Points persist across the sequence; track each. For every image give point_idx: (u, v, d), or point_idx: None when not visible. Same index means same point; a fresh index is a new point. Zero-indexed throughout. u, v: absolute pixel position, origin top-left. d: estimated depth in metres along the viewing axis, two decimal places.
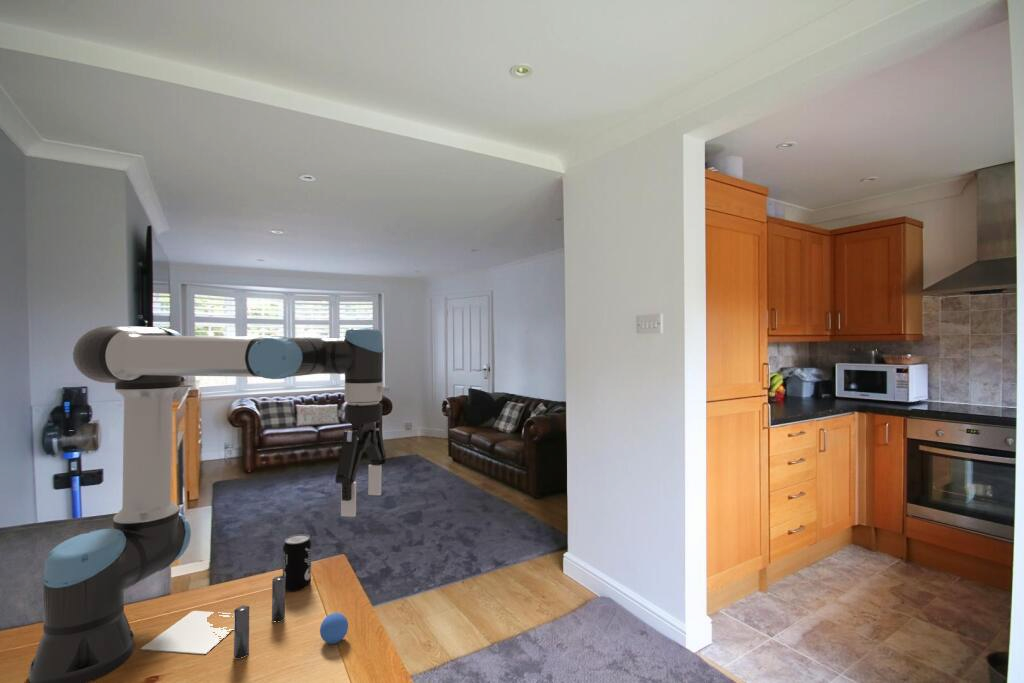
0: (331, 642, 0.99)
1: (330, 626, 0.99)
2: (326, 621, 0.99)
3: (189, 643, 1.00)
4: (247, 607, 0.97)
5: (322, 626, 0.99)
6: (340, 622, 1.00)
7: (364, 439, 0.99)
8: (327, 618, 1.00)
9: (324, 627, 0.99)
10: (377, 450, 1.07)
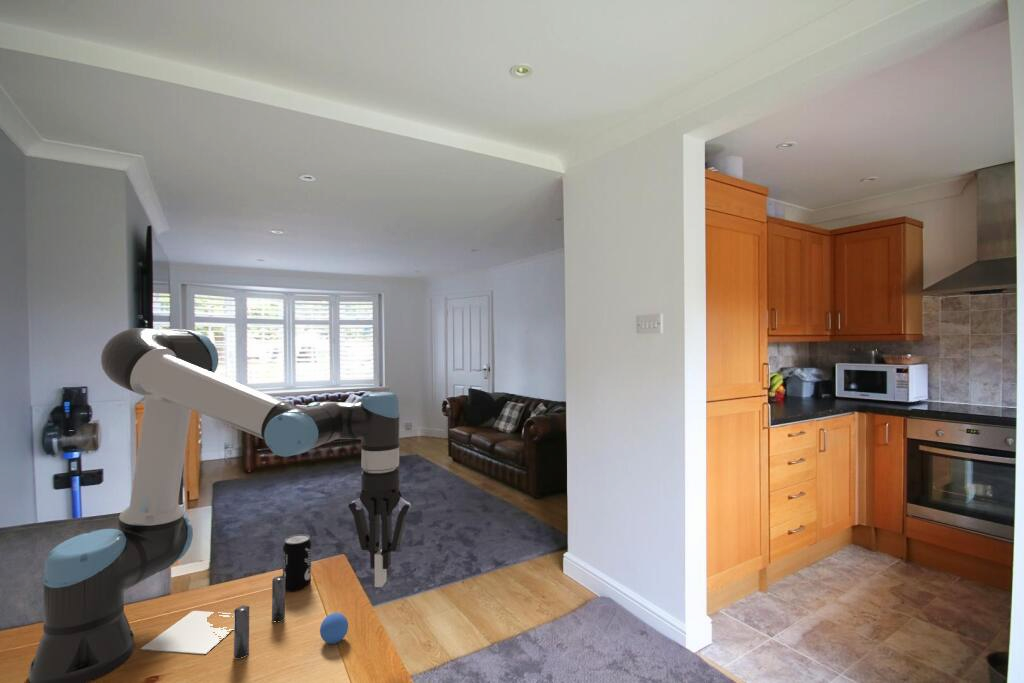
0: (331, 642, 0.99)
1: (330, 626, 0.99)
2: (326, 621, 0.99)
3: (189, 643, 1.00)
4: (247, 607, 0.97)
5: (322, 626, 0.99)
6: (340, 622, 1.00)
7: None
8: (327, 618, 1.00)
9: (324, 627, 0.99)
10: None
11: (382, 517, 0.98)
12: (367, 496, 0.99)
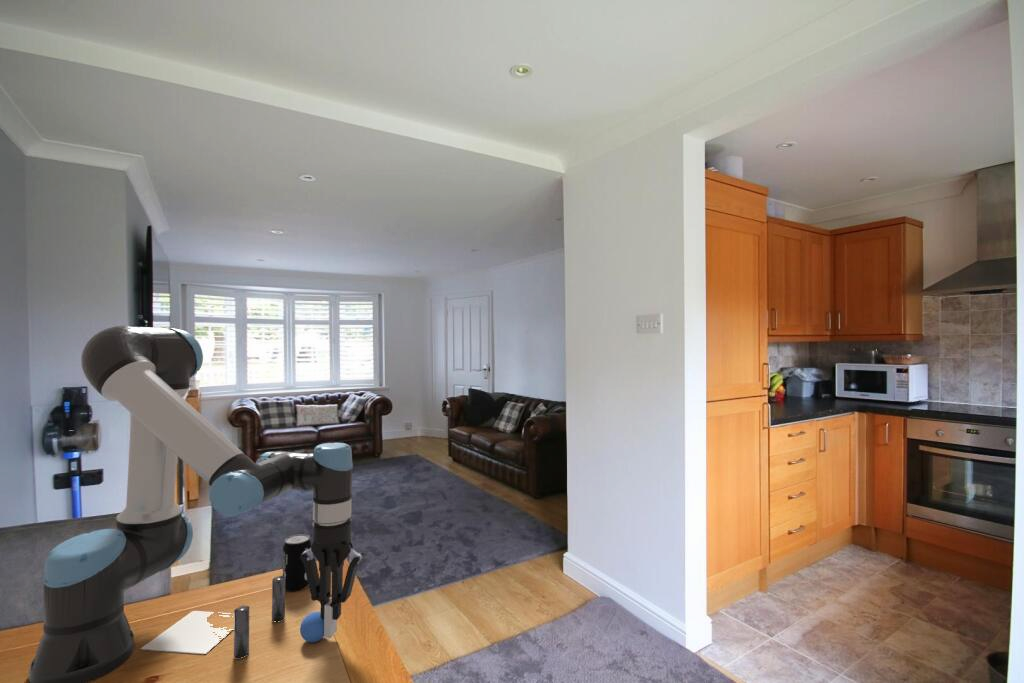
0: (318, 635, 0.99)
1: (302, 628, 0.99)
2: (300, 629, 1.00)
3: (189, 643, 1.00)
4: (247, 607, 0.97)
5: (301, 635, 1.00)
6: (308, 616, 1.01)
7: None
8: None
9: (301, 634, 0.99)
10: None
11: (332, 569, 0.99)
12: (318, 547, 1.00)
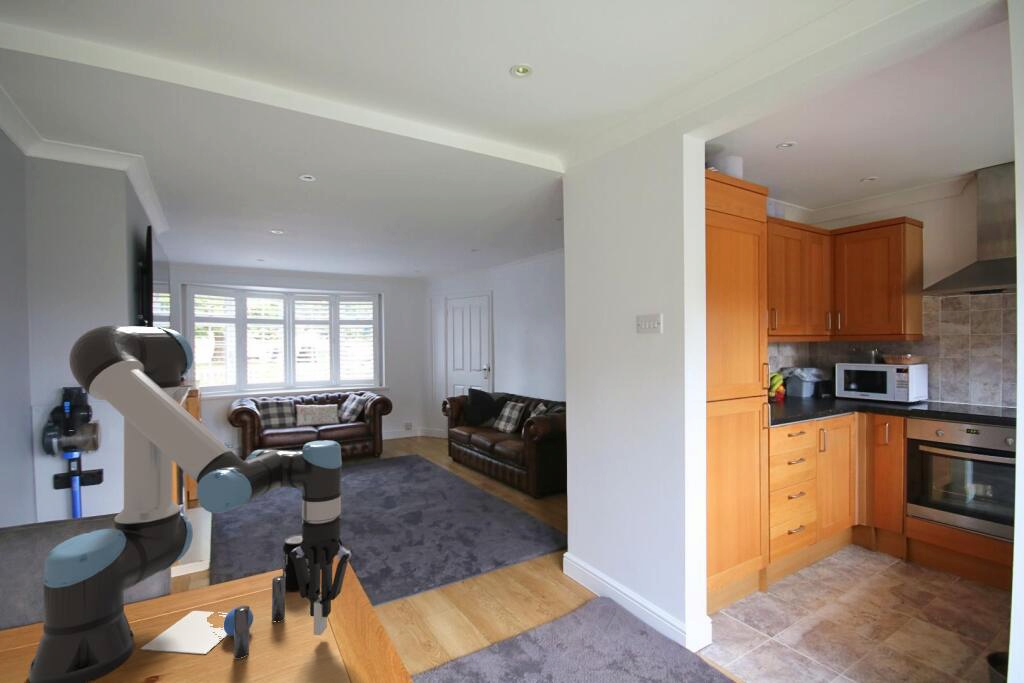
0: None
1: (226, 621, 1.01)
2: None
3: (189, 643, 1.00)
4: (247, 607, 0.97)
5: (224, 628, 1.01)
6: (233, 611, 1.02)
7: None
8: None
9: None
10: None
11: (321, 566, 0.99)
12: (307, 545, 1.00)
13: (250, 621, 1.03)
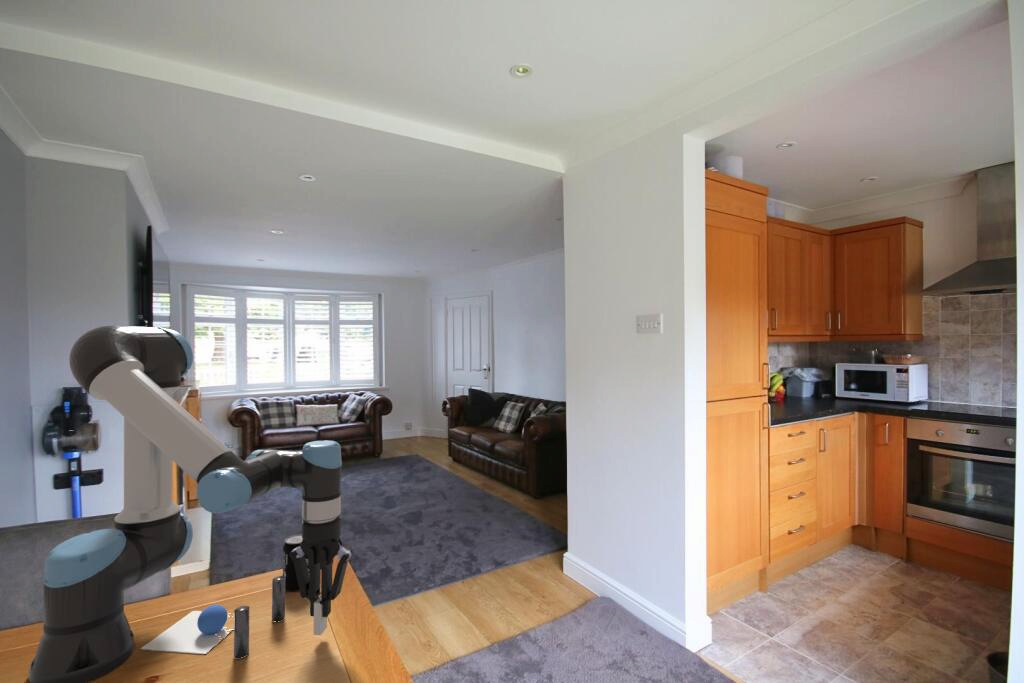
0: (204, 615, 1.02)
1: None
2: None
3: (189, 643, 1.00)
4: (247, 607, 0.97)
5: (213, 631, 1.02)
6: None
7: None
8: (213, 633, 1.03)
9: (210, 632, 1.01)
10: None
11: (321, 566, 0.99)
12: (307, 545, 1.00)
13: None
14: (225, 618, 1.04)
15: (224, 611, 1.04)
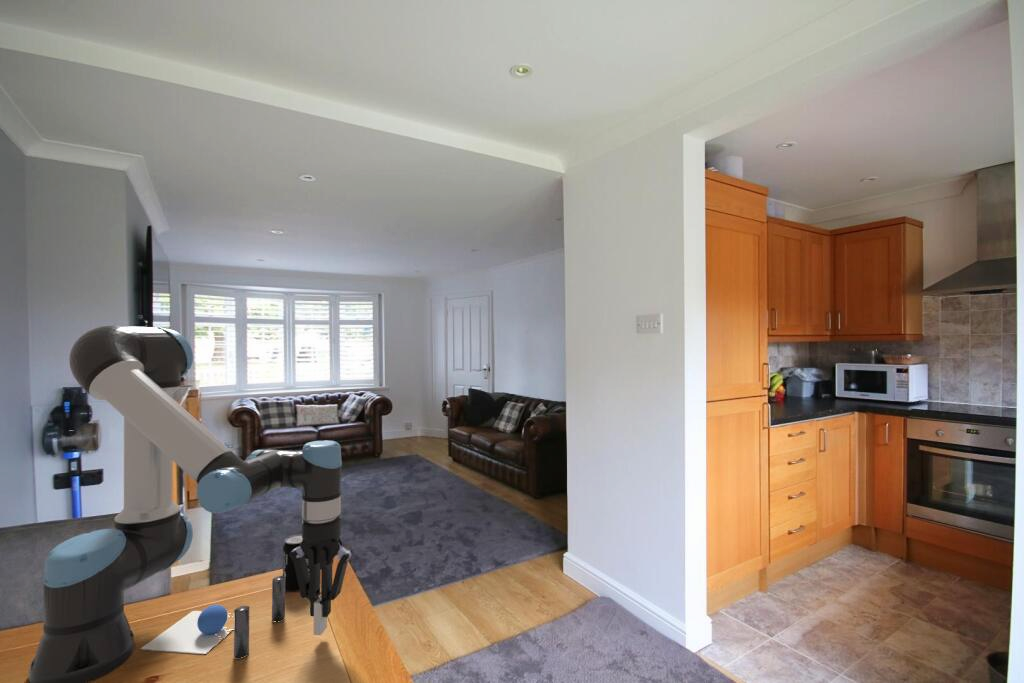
0: (204, 615, 1.02)
1: None
2: None
3: (189, 643, 1.00)
4: (247, 607, 0.97)
5: (213, 631, 1.02)
6: None
7: None
8: (213, 633, 1.03)
9: (210, 632, 1.01)
10: None
11: (321, 566, 0.99)
12: (307, 545, 1.00)
13: None
14: (225, 618, 1.04)
15: (224, 611, 1.04)
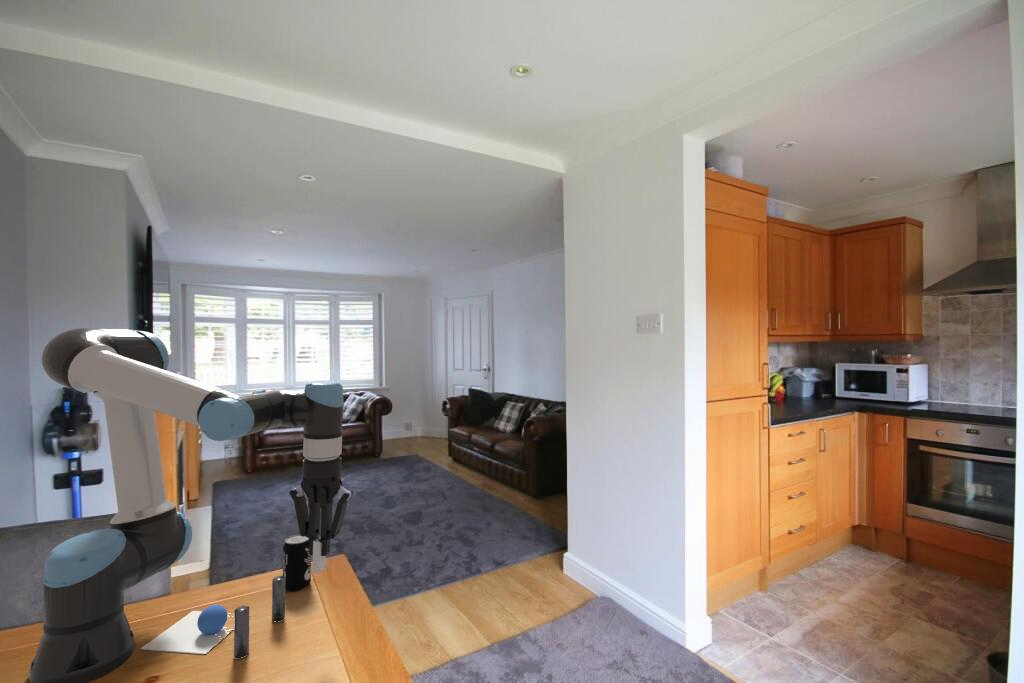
0: (204, 615, 1.02)
1: None
2: None
3: (189, 643, 1.00)
4: (247, 607, 0.97)
5: (213, 631, 1.02)
6: None
7: None
8: (213, 633, 1.03)
9: (210, 632, 1.01)
10: None
11: (321, 505, 1.00)
12: (308, 483, 1.01)
13: None
14: (225, 618, 1.04)
15: (224, 611, 1.04)
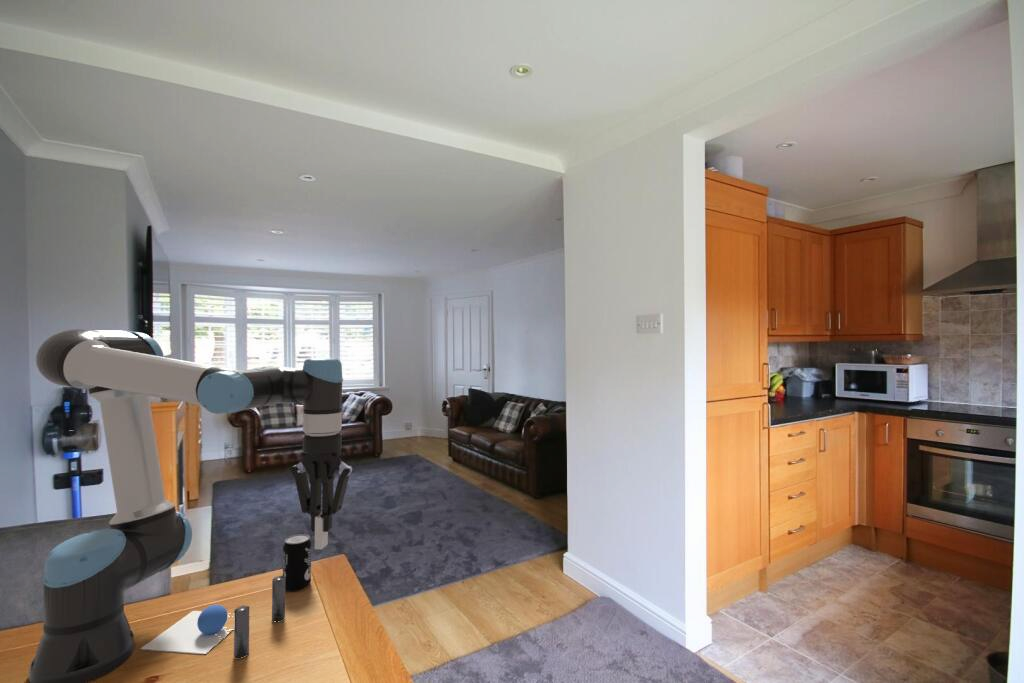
0: (204, 615, 1.02)
1: None
2: None
3: (189, 643, 1.00)
4: (247, 607, 0.97)
5: (213, 631, 1.02)
6: None
7: None
8: (213, 633, 1.03)
9: (210, 632, 1.01)
10: None
11: (322, 480, 1.00)
12: (308, 460, 1.01)
13: None
14: (225, 618, 1.04)
15: (224, 611, 1.04)
